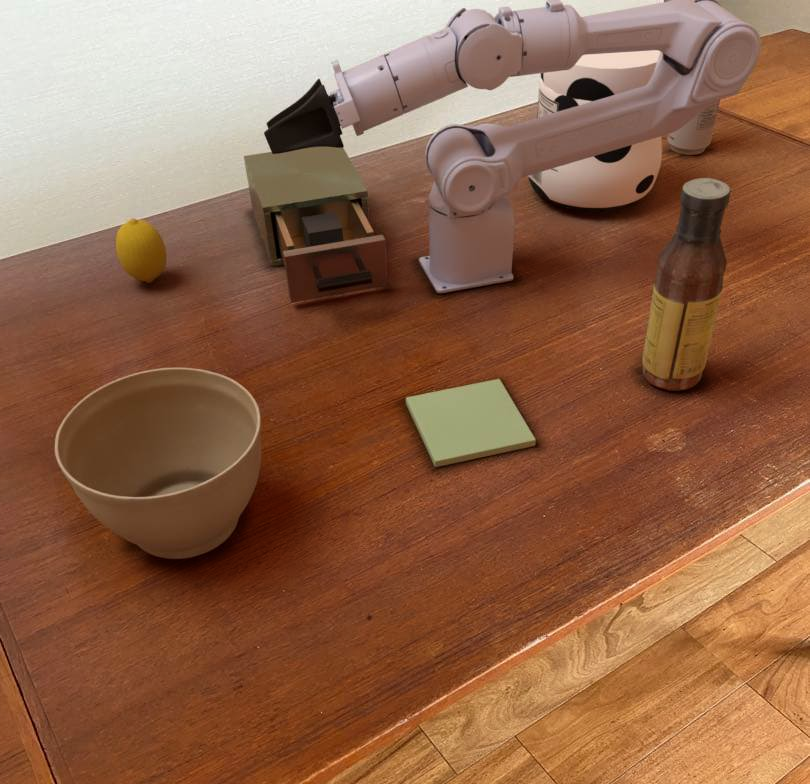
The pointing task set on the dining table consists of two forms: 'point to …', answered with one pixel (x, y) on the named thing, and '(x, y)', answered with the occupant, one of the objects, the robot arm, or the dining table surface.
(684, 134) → the energy drink can
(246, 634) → the dining table surface
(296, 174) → the olive box frame
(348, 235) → the cabinet drawer
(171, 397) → the planter bowl
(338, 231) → the block
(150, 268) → the lemon
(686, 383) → the sauce bottle
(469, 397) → the plate
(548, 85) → the milk container
